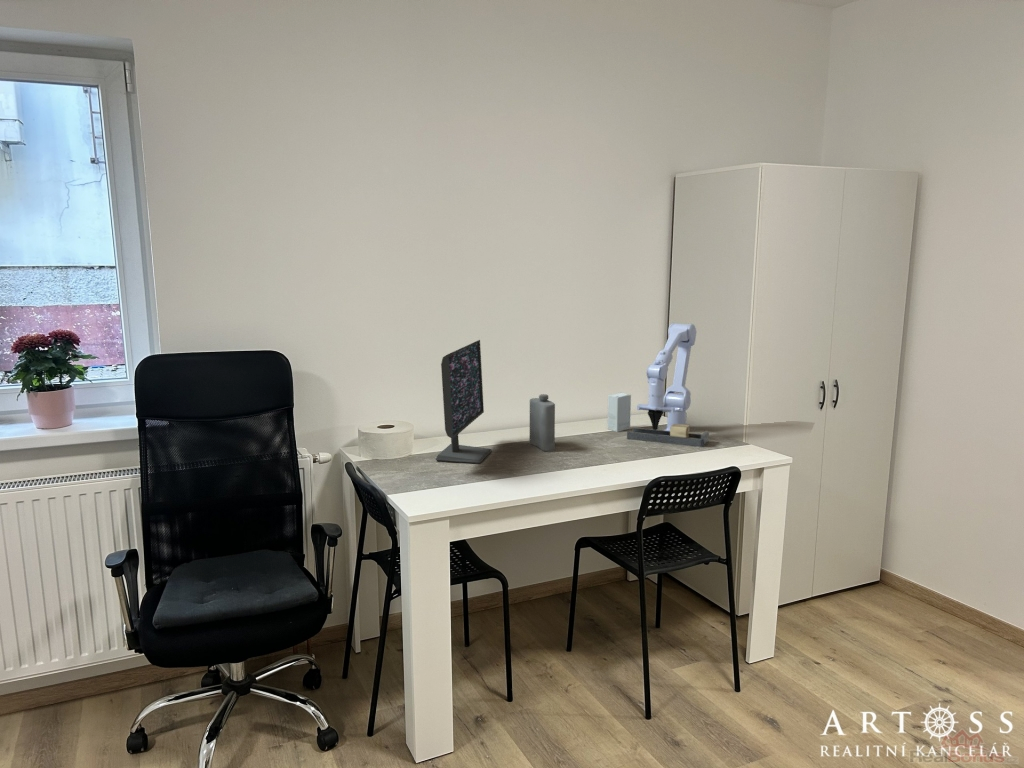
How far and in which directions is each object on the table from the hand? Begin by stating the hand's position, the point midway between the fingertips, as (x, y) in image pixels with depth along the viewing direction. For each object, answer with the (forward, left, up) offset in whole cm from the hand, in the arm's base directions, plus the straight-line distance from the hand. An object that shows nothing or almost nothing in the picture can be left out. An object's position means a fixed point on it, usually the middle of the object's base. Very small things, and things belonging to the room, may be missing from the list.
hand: (655, 429), depth 301 cm
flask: (+30, -35, -4) cm, 46 cm away
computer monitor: (+55, -55, -4) cm, 78 cm away
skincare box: (-10, -18, -4) cm, 21 cm away
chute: (0, +5, -4) cm, 6 cm away
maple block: (0, +10, -3) cm, 10 cm away
